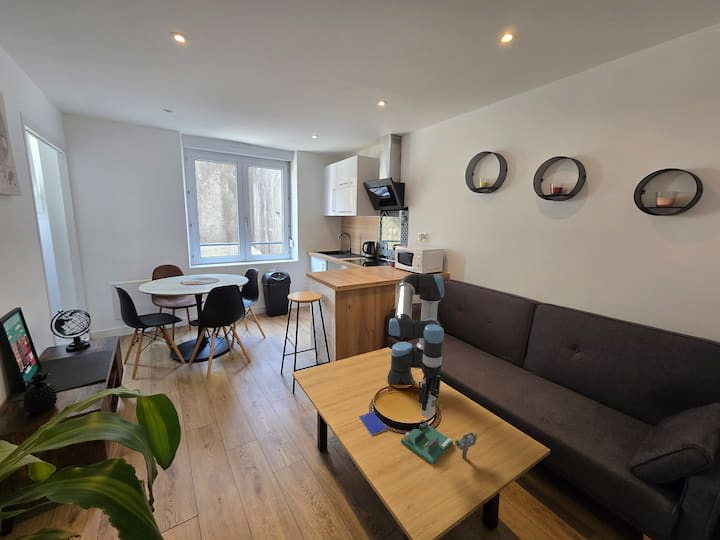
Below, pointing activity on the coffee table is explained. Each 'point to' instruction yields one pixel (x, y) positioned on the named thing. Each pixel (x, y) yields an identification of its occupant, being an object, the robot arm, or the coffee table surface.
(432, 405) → the plug
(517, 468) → the coffee table surface
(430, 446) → the header
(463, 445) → the mechanical component
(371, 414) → the hard drive
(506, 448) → the coffee table surface
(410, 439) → the board
